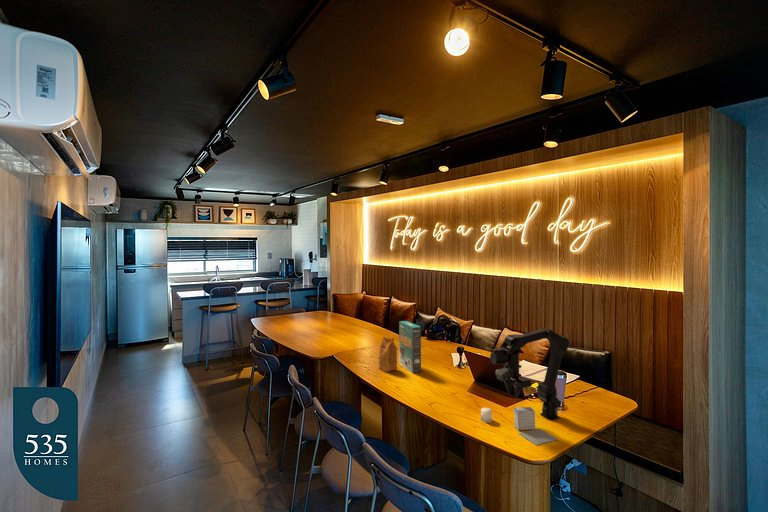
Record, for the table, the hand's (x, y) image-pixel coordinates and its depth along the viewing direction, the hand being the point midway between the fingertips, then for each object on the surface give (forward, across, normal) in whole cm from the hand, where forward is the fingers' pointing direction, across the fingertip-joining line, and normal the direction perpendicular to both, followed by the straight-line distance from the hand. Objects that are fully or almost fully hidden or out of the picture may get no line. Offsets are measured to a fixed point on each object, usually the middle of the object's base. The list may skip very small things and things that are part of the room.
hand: (512, 395), depth 172 cm
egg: (+12, -5, -11) cm, 17 cm away
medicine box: (+12, +8, 0) cm, 14 cm away
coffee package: (+12, -91, -27) cm, 96 cm away
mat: (+12, +16, 0) cm, 20 cm away
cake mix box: (+12, -88, -12) cm, 90 cm away
